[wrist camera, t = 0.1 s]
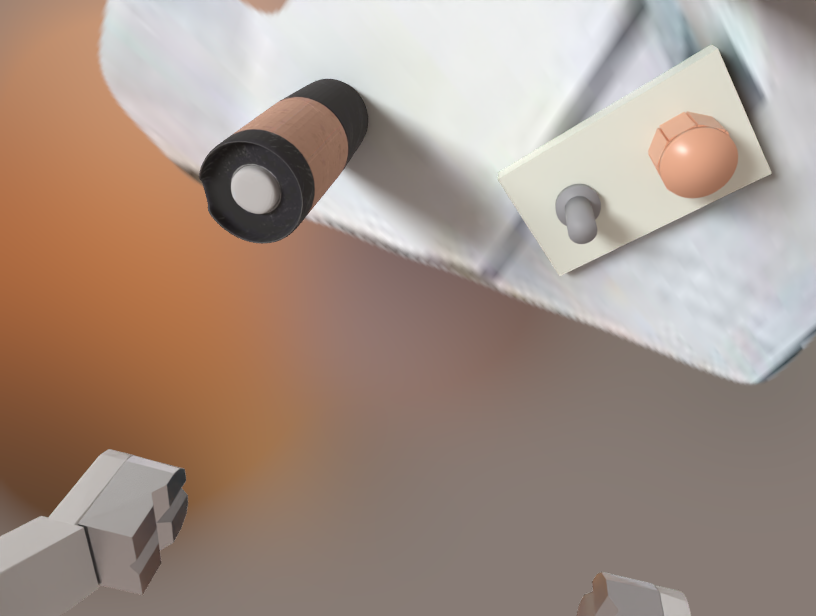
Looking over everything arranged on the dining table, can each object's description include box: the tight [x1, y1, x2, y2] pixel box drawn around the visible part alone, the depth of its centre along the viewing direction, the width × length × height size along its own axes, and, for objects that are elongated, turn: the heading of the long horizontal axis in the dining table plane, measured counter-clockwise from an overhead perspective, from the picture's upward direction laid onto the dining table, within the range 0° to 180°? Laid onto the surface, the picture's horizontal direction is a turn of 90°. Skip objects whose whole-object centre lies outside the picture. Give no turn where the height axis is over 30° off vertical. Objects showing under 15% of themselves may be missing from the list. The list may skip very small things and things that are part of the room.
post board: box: [498, 45, 772, 276], centre depth 50 cm, size 20×12×8 cm, turn 126°
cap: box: [648, 111, 738, 198], centre depth 48 cm, size 6×6×5 cm
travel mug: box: [199, 79, 368, 243], centre depth 47 cm, size 8×8×20 cm
